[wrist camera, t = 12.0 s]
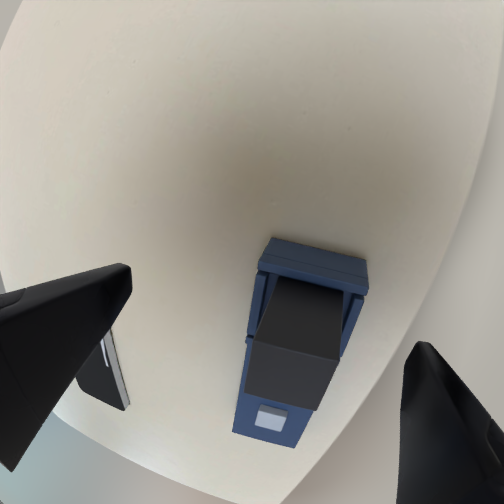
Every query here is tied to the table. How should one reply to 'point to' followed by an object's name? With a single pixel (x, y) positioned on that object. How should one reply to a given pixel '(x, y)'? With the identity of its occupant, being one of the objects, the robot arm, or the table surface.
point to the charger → (296, 344)
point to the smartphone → (104, 375)
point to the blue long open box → (269, 269)
